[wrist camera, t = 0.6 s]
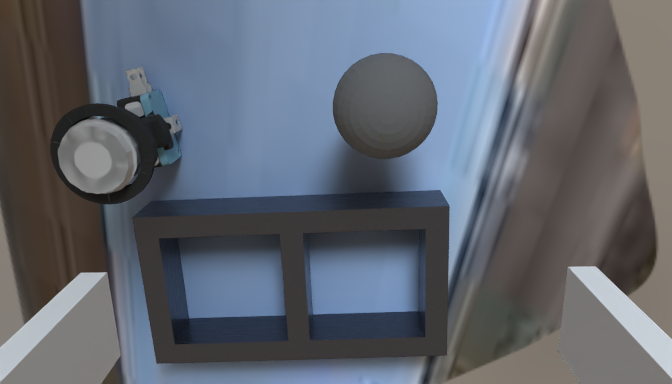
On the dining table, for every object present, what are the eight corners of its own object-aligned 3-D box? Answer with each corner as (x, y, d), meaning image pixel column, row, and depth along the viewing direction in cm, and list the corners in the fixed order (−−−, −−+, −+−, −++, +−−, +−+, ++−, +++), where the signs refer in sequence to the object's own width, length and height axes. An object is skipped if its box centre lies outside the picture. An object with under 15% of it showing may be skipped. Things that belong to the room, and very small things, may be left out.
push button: (103, 76, 35) (13, 92, 26) (179, 58, 35) (116, 68, 25) (135, 170, 37) (62, 219, 28) (208, 155, 37) (159, 199, 27)
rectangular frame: (151, 201, 38) (132, 217, 34) (440, 190, 37) (449, 205, 34) (172, 336, 41) (156, 363, 38) (438, 328, 40) (446, 355, 37)
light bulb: (360, 33, 34) (366, 33, 25) (434, 74, 35) (468, 91, 25) (320, 108, 36) (311, 137, 26) (392, 147, 36) (409, 189, 27)
